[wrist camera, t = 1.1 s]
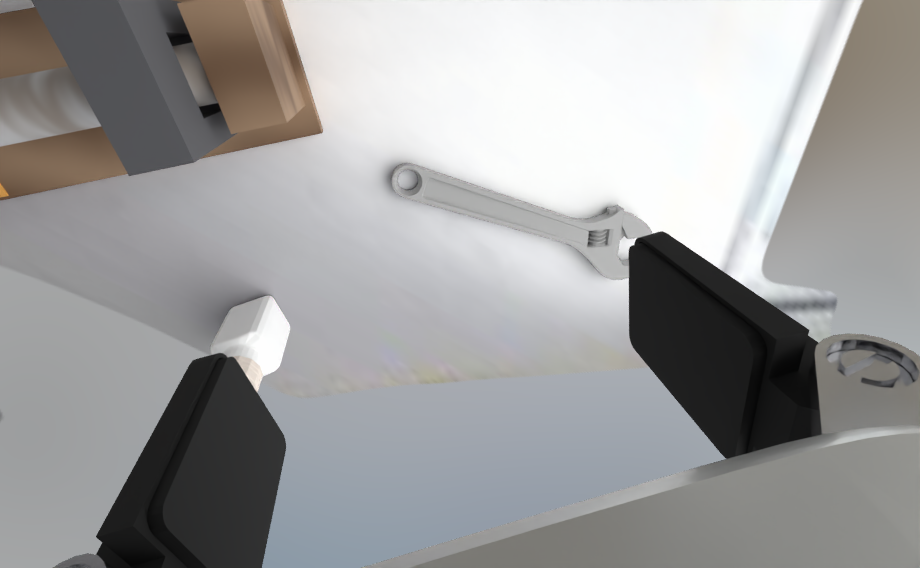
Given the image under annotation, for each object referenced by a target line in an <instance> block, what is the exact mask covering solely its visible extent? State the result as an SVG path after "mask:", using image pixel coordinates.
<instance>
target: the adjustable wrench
mask: <svg viewBox="0 0 920 568" xmlns="http://www.w3.org/2000/svg"><path fill="white" fill-rule="evenodd" d="M404 170H411V171H413V172H415V173H416V175H417V176H418V184H417V186H416V187H415V188H414V189H412V190H404V189H402V188H401V187H400V186H399V184H398V176H399V174H400V173H401V172H402V171H404ZM391 180H392V186H393V189H394V191H395V192H396V193H397V194H398V195H399V196H401V197H403V198H406V199H410V200H413V201H417V202H420V203H424V204H427V205H431V206H435V207H438V208H442V209H445V210H449V211H452V212H456V213H459V214H463V215H467V216H470V217H474V218H477V219H481V220H484V221H488V222H492V223H495V224H499V225H502V226H506V227H509V228H513V229H516V230H520V231H524V232H527V233H531V234H534V235H538V236H541V237H545V238H548V239H552V240H556V241H559V242H563V243H566V244H568V245H571V246H573V247H574V248H576V249H577V250H578V251H579V252H581V253H582V254H583V255H584V256H585V257H586V258H587V259H588V260H589V262H590V263H591V264H592V265H593V266H594V268H595V269H596V270H597V271H598V272H599V273H600V274H601V275H603V276H604V277H606V278H608V279H612V280H622V279H626V278H629V259H628V260H620V259H619V257H618V249H619V242H620V240H621V239H622V238H623V236H625V237H626V238H627V239H633V238H639V237H643V236H646V235H650V234H651V233H652V231H651V229H650V228H649V227H648V225H647V224H646V223H645V222H644V221H642V220H641V219H639V218H638V217H636V216H634V215H633V214H631V213H628V212H625V211H624V209H623V208H622V207H620V206H618V205H616V206H614V207H607V211H606V213H603V214H601V215H598V216H595V217H592V218H587V219H576V218H571V217H568V216H565V215H562V214H559V213H556V212H553V211H550V210H547V209H544V208H541V207H538V206H535V205H532V204H529V203H526V202H524V201H521V200H518V199H515V198H512V197H509V196H506V195H503V194H500V193H497V192H494V191H491V190H488V189H485V188H482V187H479V186H476V185H474V184H471V183H468V182H465V181H462V180H459V179H456V178H453V177H450V176H447V175H444V174H441V173H438V172H435V171H432V170H429V169H426V168H424V167H421V166H418V165H415V164H411V163H404V164H401V165H399V166H397V167H396V169H395V170H394V171H393V173H392V179H391ZM588 237H589V238H588Z"/></svg>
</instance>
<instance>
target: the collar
mask: <svg viewBox="0 0 920 568" xmlns="http://www.w3.org/2000/svg"><path fill="white" fill-rule="evenodd" d="M32 2H33V4H34V6H35V7H36V9H37V11H38V13H39V15H40V16H41V18H42V20H43V22H44V24H45V25H46V27H47V29H48V31H49V33H50V34H51V36H52V38H53V40H54V42H55V43H56V45H57V47H58V49H59V51H60V52H61V54H62V56H63V58H64V60H65V61H66V63H67V65H68V67H69V69H70V71H71V72H72V74H73V76H74V78H75V80H76V81H77V83H78V85H79V87H80V89H81V90H82V92H83V94H84V96H85V98H86V99H87V101H88V103H89V105H90V107H91V108H92V110H93V112H94V114H95V116H96V117H97V119H98V121H99V123H100V125H101V126H102V128H103V130H104V132H105V134H106V135H107V137H108V139H109V141H110V143H111V144H112V146H113V148H114V150H115V152H116V153H117V155H118V157H119V159H120V161H121V162H122V164H123V166H124V168H125V170H126V171H127V173H128V175H129V176H131V175H136V174H141V173H146V172H151V171H155V170H160V169H165V168H170V167H174V166H179V165H184V164H189V163H193V162H195V161H197V160H198V159H200V158H201V157H203V156H204V155H206V154H207V153H209V152H210V151H212V150H213V149H215V148H217V147H218V146H220V145H221V144H223V143H224V142H226V141H227V140H229V139H230V138H232V137H233V136H235V135H236V134H238V133H235V134H231V132H230V130H229V128H228V125H227V123H226V120H225V118H224V116H223V113H222V111H221V108H220V106H219V104H218V103H215V104H210V105H205V106H200V107H199V106H198V104H197V102H196V100H195V97H194V95H193V93H192V90H191V88H190V86H189V84H188V81H187V79H186V77H185V75H184V72H183V70H182V68H181V65H180V63H179V61H178V59H177V56H176V54H175V52H174V50H173V47H172V46H177V45H182V44H187V43H193V41H192V39H191V36H190V34H189V32H188V29H187V27H186V24H185V22H184V20H183V17H182V15H181V12H180V10H179V8H178V5H177V3H182V2H178V1H173V0H32Z"/></svg>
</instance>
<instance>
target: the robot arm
mask: <svg viewBox="0 0 920 568" xmlns="http://www.w3.org/2000/svg"><path fill="white" fill-rule="evenodd" d="M808 333H809V330H808V329H807V328H805V327H804V326H802V325H801V324H800V323H798V322H797V321H795V320H794V319H792V318H791V317H789V316H788V315H786V314H785V313H783V312H782V311H780V310H779V309H777V308H776V307H774V306H773V305H772V304H770V303H769V302H767V301H766V300H764V299H763V298H761V297H760V296H758V295H757V294H755V293H754V292H752V291H751V290H749V289H748V288H746V287H745V286H744V285H742V284H741V283H739V282H738V281H736V280H735V279H733V278H732V277H730V276H729V275H727V274H726V273H724V272H723V271H721V270H720V269H718V268H717V267H716V266H714V265H713V264H711V263H710V262H708V261H707V260H705V259H704V258H702V257H701V256H699V255H698V254H696V253H695V252H693V251H692V250H690V249H689V248H687V247H686V246H685V245H683V244H682V243H680V242H679V241H677V240H676V239H674V238H673V237H671V236H670V235H668V234H667V233H665V232H657V233H654V234H650V235H646V236H643V237H639V238H637V239H636V241H635V245H633V246H631V247H630V249H629V336H630V341H631V344H632V346H633V348H634V349H635V351H636V352H637V353H638V354H639V355H640V357H641V358H642V359H643V360H644V361H645V363H646V364H647V365H648V366H649V367H650V369H651V370H652V371H653V372H654V373H655V375H656V376H657V377H658V378H659V379H660V381H661V382H662V383H663V384H664V385H665V387H666V388H667V389H668V390H669V391H670V393H671V394H672V395H673V396H674V397H675V399H676V400H677V401H678V402H679V403H680V404H681V406H682V407H683V408H684V409H685V411H686V412H687V413H688V414H689V415H690V417H691V418H692V419H693V420H694V421H695V423H696V424H697V425H698V426H699V427H700V429H701V430H702V431H703V432H704V433H705V435H706V436H707V437H708V438H709V439H710V441H711V442H712V443H713V444H714V446H715V447H716V448H717V449H718V450H719V452H720V453H721V454H722V455H723V456H724V457H725V458H726V459H725V460H721V461H718V462H714V463H711V464H707V465H703V466H700V467H697V468H693V469H689V470H686V471H683V472H679V473H676V474H673V475H669V476H666V477H663V478H659V479H656V480H652V481H649V482H645V483H642V484H639V485H635V486H632V487H628V488H625V489H622V490H618V491H615V492H611V493H608V494H605V495H602V496H598V497H595V498H591V499H588V500H584V501H581V502H578V503H574V504H571V505H568V506H564V507H561V508H558V509H554V510H551V511H548V512H544V513H541V514H538V515H534V516H531V517H527V518H524V519H521V520H517V521H514V522H511V523H507V524H504V525H501V526H498V527H494V528H491V529H487V530H484V531H481V532H478V533H474V534H471V535H468V536H464V537H461V538H458V539H454V540H451V541H448V542H444V543H441V544H438V545H435V546H431V547H428V548H424V549H421V550H418V551H415V552H411V553H408V554H405V555H401V556H399V557H395V558H392V559H388V560H385V561H382V562H379V563H376V564H372V565H369V566H365V567H362V568H920V356H918V355H917V354H916V353H915V352H913V351H911V350H909V349H908V348H906V347H904V346H902V345H900V344H898V343H895V342H891V341H889V340H886V339H883V338H879V337H874V336H869V335H864V334H841V335H833V336H830V337H828V338H825V339H823V340H822V341H821V342H820V343H818V342H817V341H815V340H814V339H812V338H811V337H809V336H808ZM285 451H286V443H285V438H284V435H283V433H282V431H281V430H280V428H279V427H278V425H277V423H276V422H275V420H274V419H273V417H272V416H271V414H270V412H269V411H268V409H267V408H266V406H265V404H264V403H263V401H262V400H261V398H260V396H259V395H258V393H257V392H256V390H255V389H254V387H253V385H252V384H251V382H250V381H249V379H248V377H247V376H246V374H245V373H244V371H243V369H242V368H241V366H240V365H239V363H238V362H237V360H236V359H235V358H234V357H231V356H230V357H227V356H226V355H225V354H223V353H217V354H213V355H210V356H206V357H203V358H199V359H196V360H193V361H192V363H191V364H190V365H189V367H188V369H187V371H186V373H185V374H184V376H183V378H182V380H181V382H180V384H179V385H178V387H177V389H176V391H175V393H174V395H173V396H172V398H171V400H170V402H169V404H168V406H167V407H166V409H165V411H164V413H163V415H162V417H161V418H160V420H159V422H158V424H157V426H156V428H155V430H154V431H153V433H152V435H151V437H150V439H149V440H148V442H147V444H146V446H145V448H144V450H143V452H142V453H141V455H140V457H139V459H138V461H137V462H136V465H135V466H134V468H133V470H132V472H131V474H130V475H129V477H128V479H127V481H126V483H125V484H124V486H123V488H122V490H121V492H120V494H119V496H118V497H117V499H116V501H115V503H114V505H113V506H112V508H111V510H110V512H109V514H108V516H107V517H106V519H105V521H104V523H103V525H102V527H101V528H100V530H99V532H98V534H97V536H96V537H97V538H98V539H99V540H100V541H101V542H102V544H101V546H100V548H99V550H98V552H97V554H96V555H94V554H88V553H87V554H83V555H79V556H74V557H72V558H70V559H68V560H66V561H64V562H61V563H59V564H58V565H56V566H55V567H53V568H262V564H263V559H264V554H265V548H266V544H267V539H268V534H269V529H270V524H271V519H272V515H273V510H274V505H275V500H276V495H277V490H278V485H279V480H280V475H281V470H282V466H283V461H284V456H285Z"/></svg>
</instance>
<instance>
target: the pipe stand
mask: <svg viewBox="0 0 920 568" xmlns="http://www.w3.org/2000/svg"><path fill="white" fill-rule="evenodd" d="M173 1H178V2H182V3H177V5H178V8H179V10H180V12H181V15H182V17H183V20H184V22H185V24H186V27H187V29H188V32H189V34H190V36H191V39H192V41H193V43H187V44H182V45H177V46H172V47H173V50H174V52H175V54H176V56H177V59H178V61H179V63H180V65H181V68H182V70H183V72H184V75H185V77H186V79H187V81H188V84H189V86H190V88H191V90H192V93H193V95H194V97H195V100H196V102H197V104H198V106H199V107H200V106H205V105H210V104H215V103H218V104H219V106H220V108H221V111H222V113H223V116H224V118H225V120H226V123H227V125H228V128H229V130H230V132H231V134H235V133H238V134H236V135H235V136H233V137H232V138H230V139H229V140H227V141H226V142H224V143H223V144H221V145H220V146H218V147H217V148H215V149H213V150H212V151H210V152H209V153H207V154H206V155H204V156H203V157H201V158H205V157H210V156H215V155H220V154H225V153H229V152H234V151H239V150H244V149H248V148H253V147H258V146H263V145H267V144H272V143H277V142H282V141H287V140H291V139H296V138H301V137H306V136H310V135H315V134H320V133H322V132H323V129H322V126H321V122H320V119H319V116H318V113H317V110H316V106H315V103H314V100H313V97H312V94H311V90H310V87H309V84H308V81H307V78H306V75H305V71H304V68H303V65H302V62H301V59H300V55H299V52H298V49H297V46H296V43H295V39H294V36H293V33H292V30H291V27H290V24H289V20H288V17H287V14H286V11H285V8H284V4H283V1H282V0H173ZM201 158H200V159H201ZM124 174H128V173H127V171H126V170H125V168H124V166H123V164H122V162H121V161H120V159H119V157H118V155H117V153H116V152H115V150H114V148H113V146H112V144H111V143H110V141H109V139H108V137H107V135H106V134H105V132H104V130H103V128H102V126H101V125H100V123H99V121H98V119H97V117H96V116H95V114H94V112H93V110H92V108H91V107H90V105H89V103H88V101H87V99H86V98H85V96H84V94H83V92H82V90H81V89H80V87H79V85H78V83H77V81H76V80H75V78H74V76H73V74H72V72H71V71H70V69H69V67H68V65H67V63H66V61H65V60H64V58H63V56H62V54H61V52H60V51H59V49H58V47H57V45H56V43H55V42H54V40H53V38H52V36H51V34H50V33H49V31H48V29H47V27H46V25H45V24H44V22H43V20H42V18H41V16H40V15H39V13H38V11H37V9H36V7H35V8H29V9H23V10H18V11H12V12H7V13H1V14H0V200H5V199H10V198H14V197H19V196H24V195H29V194H33V193H38V192H43V191H48V190H53V189H57V188H62V187H67V186H72V185H76V184H81V183H86V182H91V181H96V180H100V179H105V178H110V177H115V176H119V175H124Z"/></svg>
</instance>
